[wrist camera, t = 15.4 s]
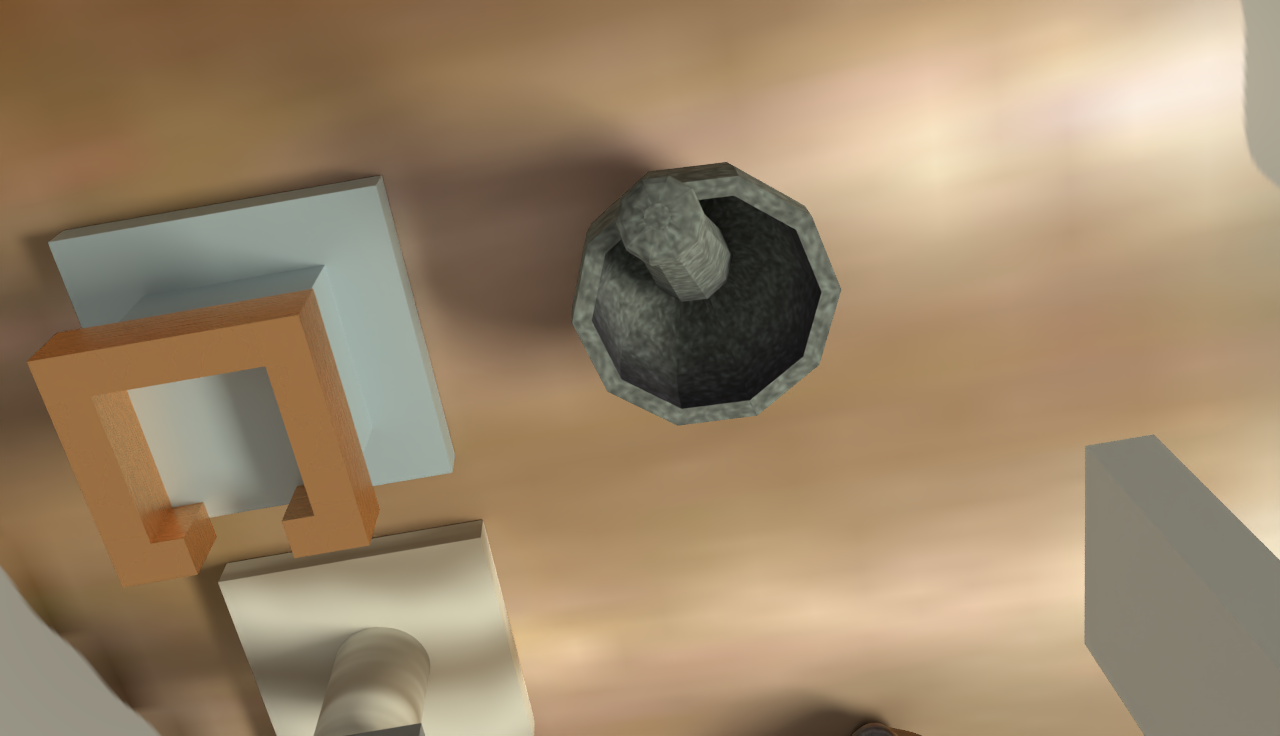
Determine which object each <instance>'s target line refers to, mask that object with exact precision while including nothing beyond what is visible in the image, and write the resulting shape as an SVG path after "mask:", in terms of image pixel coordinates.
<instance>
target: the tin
mask: <svg viewBox="0 0 1280 736" xmlns="http://www.w3.org/2000/svg"><path fill="white" fill-rule="evenodd" d="M851 736H921V735H919V734H916V733H913V732H909V731H905V730H900V729H895V728H890V727H888V726H886V725H884V724H880V723H869V724H866V725H864V726H862V727H861V728H859V729H858V730H856V731H855V732H854V733H853V734H852V735H851Z"/></svg>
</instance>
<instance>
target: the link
mask: <svg viewBox="0 0 1280 736" xmlns="http://www.w3.org/2000/svg"><path fill="white" fill-rule="evenodd" d="M27 364H28V366H29V368H30V371H31V373H32V375H33V378H34V380H35V382H36V385H37V387H38V390H39V392H40V394H41V397H42V399H43V401H44V404H45V406H46V408H47V411H48V413H49V415H50V418H51V420H52V422H53V425H54V427H55V429H56V432H57V434H58V437H59V439H60V441H61V444H62V446H63V448H64V451H65V453H66V455H67V458H68V460H69V462H70V465H71V467H72V469H73V472H74V474H75V476H76V479H77V481H78V484H79V486H80V488H81V491H82V493H83V495H84V498H85V500H86V502H87V505H88V507H89V509H90V512H91V514H92V516H93V519H94V521H95V523H96V526H97V528H98V531H99V533H100V535H101V538H102V540H103V542H104V545H105V547H106V549H107V552H108V554H109V556H110V559H111V561H112V563H113V566H114V568H115V570H116V573H117V575H118V578H119V580H120V582H121V585H122V587H128V586H134V585H140V584H146V583H151V582H157V581H163V580H169V579H175V578H181V577H187V576H193V575H198V573H199V571H200V569H201V567H202V565H203V563H204V561H205V559H206V557H207V555H208V553H209V551H210V549H211V547H212V545H213V543H214V541H215V539H216V534H215V532H214V529H213V526H212V524H211V521H210V518H209V516H208V513H207V510H206V508H205V505H204V502H201V503H195V504H189V505H184V506H178V507H172V505H171V502H170V500H169V497H168V495H167V492H166V490H165V487H164V484H163V482H162V479H161V477H160V474H159V472H158V469H157V466H156V464H155V461H154V459H153V456H152V454H151V451H150V448H149V446H148V443H147V441H146V438H145V436H144V433H143V431H142V428H141V425H140V423H139V420H138V418H137V415H136V413H135V410H134V407H133V405H132V402H131V400H130V397H129V395H128V392H127V390H131V389H137V388H142V387H148V386H154V385H160V384H166V383H171V382H177V381H183V380H189V379H195V378H200V377H206V376H212V375H218V374H224V373H229V372H235V371H241V370H247V369H253V368H259V367H264V366H265V367H266V370H267V373H268V376H269V379H270V382H271V385H272V388H273V391H274V394H275V398H276V401H277V404H278V407H279V410H280V413H281V416H282V419H283V422H284V425H285V428H286V431H287V434H288V437H289V440H290V443H291V446H292V449H293V452H294V455H295V458H296V461H297V464H298V467H299V470H300V473H301V476H302V479H303V483H304V485H301V486H296V489H295V491H294V493H293V496H292V498H291V501H290V503H289V505H288V508H287V510H286V512H285V515H284V517H283V520H282V524H283V527H284V530H285V532H286V535H287V538H288V541H289V544H290V547H291V550H292V553H293V556H294V558H298V557H304V556H310V555H316V554H322V553H328V552H334V551H340V550H345V549H351V548H357V547H363V546H369V545H370V542H371V539H372V535H373V532H374V528H375V525H376V521H377V517H378V514H379V510H380V509H379V505H378V502H377V499H376V495H375V492H374V489H373V485H372V482H371V479H370V475H369V472H368V469H367V465H366V462H365V459H364V455H363V452H362V449H361V445H360V442H359V439H358V435H357V432H356V429H355V425H354V422H353V419H352V415H351V412H350V409H349V405H348V402H347V399H346V395H345V392H344V389H343V385H342V382H341V379H340V376H339V372H338V369H337V366H336V362H335V359H334V356H333V352H332V349H331V346H330V342H329V339H328V336H327V332H326V329H325V326H324V322H323V319H322V316H321V312H320V309H319V306H318V302H317V299H316V296H315V292H314V289H308V290H302V291H297V292H291V293H285V294H279V295H273V296H268V297H262V298H256V299H250V300H245V301H239V302H233V303H227V304H221V305H216V306H210V307H204V308H198V309H192V310H187V311H181V312H175V313H169V314H164V315H158V316H152V317H146V318H140V319H135V320H129V321H123V322H117V323H112V324H106V325H100V326H94V327H88V328H83V329H77V330H71V331H65V332H60V333H56V334H55V335H54V336H53V337H52V338H51V339H50V340H49V341H48V342H47V343H46V344H45V345H44V346H43V347H42V348H41V349H40V350H39V351H38V352H37V353H36V354H34V355H33V356H32V357H31V358H30V359H29V360H28V361H27Z"/></svg>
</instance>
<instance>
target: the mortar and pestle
mask: <svg viewBox="0 0 1280 736" xmlns="http://www.w3.org/2000/svg"><path fill="white" fill-rule="evenodd" d="M840 292H841V288H840V285H839V283H838V280H837V278H836V275H835V273H834V270H833V268H832V265H831V263H830V260H829V258H828V256H827V253H826V251H825V248H824V246H823V243H822V241H821V238H820V236H819V233H818V231H817V228H816V226H815V223H814V221H813V218H812V216H811V215H810V213H809V212H808V210H807V209H806V207H805V206H804V205H802V204H800V203H799V202H797V201H795V200H793V199H792V198H790V197H788V196H786V195H784V194H783V193H781V192H779V191H777V190H775V189H774V188H772V187H770V186H768V185H767V184H765V183H763V182H761V181H759V180H758V179H756V178H754V177H752V176H750V175H749V174H747V173H745V172H743V171H742V170H740V169H738V168H736V167H734V166H733V165H731V164H729V163H727V162H723V163H715V164H707V165H699V166H691V167H683V168H675V169H667V170H659V171H651V172H648V173H647V174H646V175H645V176H644V177H643V178H641V179H640V180H639V181H638V182H637V183H636V184H635V185H634V186H633V187H632V188H630V189H629V190H628V191H627V192H626V193H625V194H624V195H623V196H622V197H621V198H619V199H618V200H617V201H616V202H615V203H614V204H613V205H612V206H611V207H610V208H608V209H607V210H606V211H605V212H604V213H603V214H602V215H601V216H600V217H598V218H597V219H596V220H595V221H594V222H593V223H592V224H591V226H590V228H589V230H588V232H587V235H586V240H585V245H584V250H583V255H582V261H581V266H580V271H579V276H578V281H577V286H576V291H575V296H574V301H573V307H572V324H573V326H574V328H575V330H576V332H577V334H578V336H579V338H580V340H581V341H582V343H583V345H584V347H585V349H586V351H587V353H588V355H589V357H590V359H591V361H592V363H593V365H594V366H595V368H596V370H597V372H598V374H599V376H600V378H601V380H602V382H603V384H604V386H605V388H606V390H607V391H608V392H610V393H612V394H614V395H616V396H618V397H620V398H622V399H624V400H626V401H628V402H630V403H632V404H634V405H636V406H638V407H640V408H642V409H645V410H647V411H649V412H651V413H653V414H655V415H657V416H659V417H661V418H663V419H665V420H667V421H669V422H671V423H673V424H675V425H686V424H694V423H702V422H709V421H717V420H725V419H733V418H741V417H749V416H757V415H758V414H759V413H761V412H762V411H763V410H764V409H766V408H767V407H768V406H769V405H770V404H772V403H773V402H774V401H775V400H777V399H778V398H779V397H780V396H781V395H783V394H784V393H785V392H786V391H788V390H789V389H790V388H791V387H793V386H794V385H795V384H796V383H797V382H799V381H800V380H801V379H802V378H804V377H805V376H806V375H807V374H808V373H810V372H811V371H812V370H813V369H815V368H816V367H817V366H818V365H819V363H820V360H821V357H822V353H823V350H824V346H825V343H826V340H827V336H828V333H829V329H830V326H831V323H832V319H833V316H834V312H835V309H836V306H837V302H838V299H839V295H840Z"/></svg>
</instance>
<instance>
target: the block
mask: <svg viewBox="0 0 1280 736" xmlns="http://www.w3.org/2000/svg"><path fill="white" fill-rule="evenodd" d="M48 244H49V247H50V249H51V252H52V254H53V257H54V259H55V262H56V264H57V267H58V269H59V272H60V274H61V277H62V279H63V282H64V284H65V287H66V289H67V292H68V294H69V297H70V299H71V302H72V304H73V307H74V309H75V312H76V314H77V317H78V319H79V322H80V325H81V327H82V329H83V328H88V327H94V326H100V325H106V324H112V323H117V322H123V321H129V320H135V319H140V318H146V317H152V316H158V315H164V314H169V313H175V312H181V311H187V310H192V309H198V308H204V307H210V306H216V305H221V304H227V303H233V302H239V301H245V300H250V299H256V298H262V297H268V296H273V295H279V294H285V293H291V292H297V291H302V290H308V289H314V292H315V296H316V299H317V302H318V306H319V309H320V312H321V316H322V319H323V322H324V326H325V329H326V332H327V336H328V339H329V342H330V346H331V349H332V352H333V356H334V359H335V362H336V366H337V369H338V372H339V376H340V379H341V382H342V385H343V389H344V392H345V395H346V399H347V402H348V405H349V409H350V412H351V415H352V419H353V422H354V425H355V429H356V432H357V435H358V439H359V442H360V445H361V449H362V452H363V455H364V459H365V462H366V465H367V469H368V472H369V475H370V479H371V482H372V485H373V486H376V485H382V484H388V483H394V482H400V481H405V480H411V479H417V478H423V477H429V476H435V475H441V474H446V473H452V470H453V465H454V459H455V453H454V450H453V446H452V442H451V438H450V434H449V431H448V427H447V423H446V419H445V415H444V411H443V408H442V404H441V400H440V396H439V392H438V389H437V385H436V381H435V377H434V373H433V369H432V366H431V362H430V358H429V354H428V350H427V347H426V343H425V339H424V335H423V331H422V327H421V324H420V320H419V316H418V312H417V308H416V305H415V301H414V297H413V293H412V289H411V285H410V282H409V278H408V274H407V270H406V266H405V263H404V259H403V255H402V251H401V247H400V243H399V240H398V236H397V232H396V228H395V224H394V221H393V217H392V213H391V209H390V205H389V201H388V198H387V194H386V190H385V186H384V182H383V179H382V175H380V176H374V177H369V178H363V179H357V180H352V181H346V182H340V183H334V184H329V185H323V186H317V187H311V188H306V189H300V190H294V191H288V192H283V193H277V194H271V195H265V196H260V197H254V198H248V199H242V200H237V201H231V202H225V203H219V204H214V205H208V206H202V207H196V208H191V209H185V210H179V211H173V212H168V213H162V214H156V215H150V216H145V217H139V218H133V219H128V220H122V221H116V222H110V223H105V224H99V225H93V226H87V227H82V228H76V229H70V230H64V231H62V232H61V233H60V234H58V235H57V236H56V237H54V238H53V239H52V240H50V241H49V242H48ZM127 392H128V395H129V397H130V400H131V402H132V405H133V407H134V410H135V413H136V415H137V418H138V420H139V423H140V425H141V428H142V431H143V433H144V436H145V438H146V441H147V443H148V446H149V448H150V451H151V454H152V456H153V459H154V461H155V464H156V466H157V469H158V472H159V474H160V477H161V479H162V482H163V484H164V487H165V490H166V492H167V495H168V497H169V500H170V502H171V505H172V507H178V506H184V505H189V504H195V503H201V502H204V505H205V508H206V510H207V513H208V516H209V517H215V516H221V515H227V514H233V513H239V512H245V511H250V510H256V509H262V508H268V507H274V506H280V505H286V504H289V503H290V501H291V498H292V496H293V493H294V491H295V489H296V486H301V485H304V483H303V479H302V476H301V473H300V470H299V467H298V464H297V461H296V458H295V455H294V452H293V449H292V446H291V443H290V440H289V437H288V434H287V431H286V428H285V425H284V422H283V419H282V416H281V413H280V410H279V407H278V404H277V401H276V398H275V394H274V391H273V388H272V385H271V382H270V379H269V376H268V373H267V370H266V367H265V366H264V367H259V368H253V369H247V370H241V371H235V372H229V373H224V374H218V375H212V376H206V377H200V378H195V379H189V380H183V381H177V382H171V383H166V384H160V385H154V386H148V387H142V388H137V389H131V390H127Z"/></svg>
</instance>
